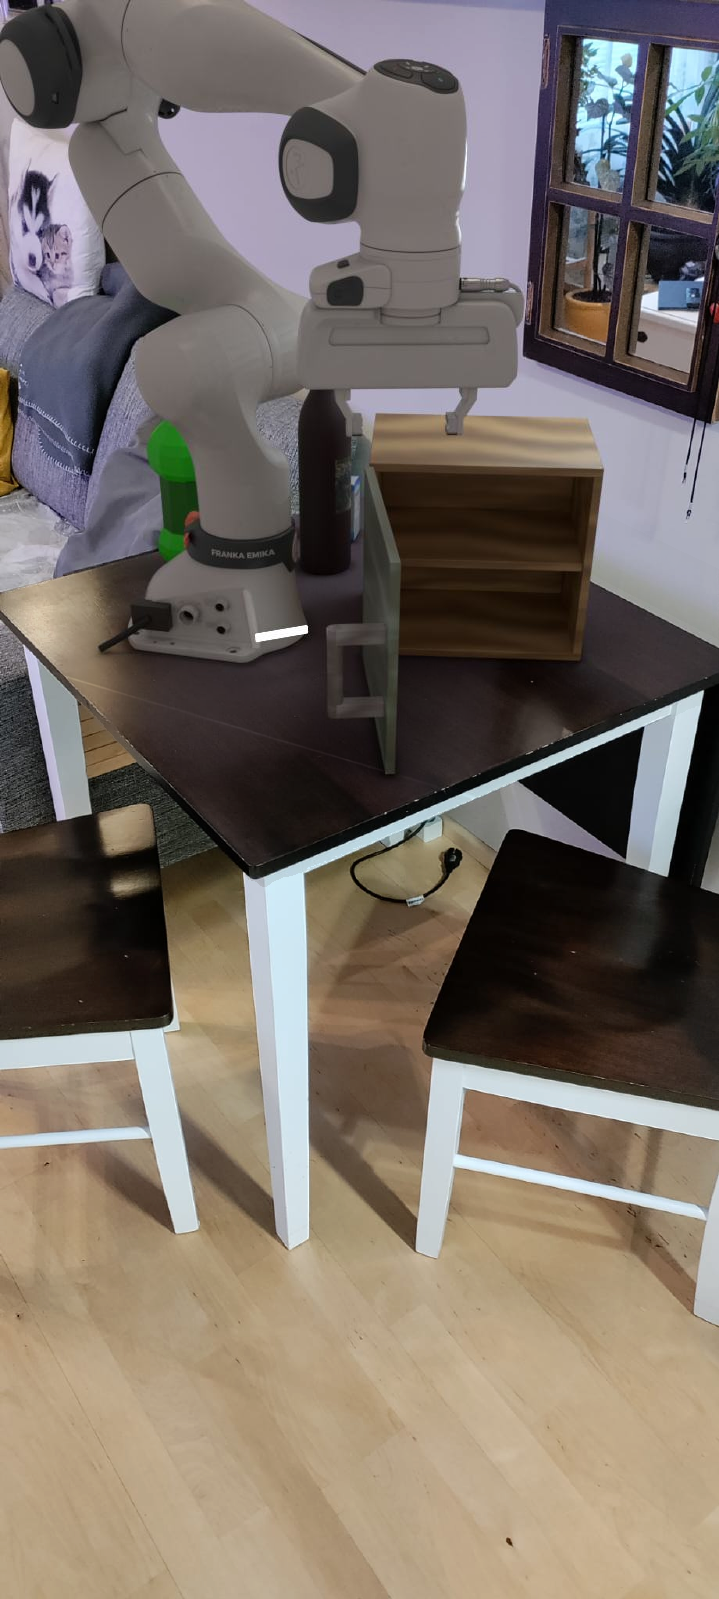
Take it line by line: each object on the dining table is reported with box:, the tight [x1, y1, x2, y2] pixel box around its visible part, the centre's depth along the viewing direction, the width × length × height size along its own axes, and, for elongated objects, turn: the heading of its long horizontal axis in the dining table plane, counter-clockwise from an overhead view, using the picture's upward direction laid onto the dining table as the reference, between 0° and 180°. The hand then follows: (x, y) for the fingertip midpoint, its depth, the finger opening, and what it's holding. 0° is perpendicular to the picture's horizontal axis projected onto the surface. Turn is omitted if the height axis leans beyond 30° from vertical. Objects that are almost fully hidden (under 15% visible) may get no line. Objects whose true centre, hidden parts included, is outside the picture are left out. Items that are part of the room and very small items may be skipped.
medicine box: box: [351, 475, 361, 542], centre depth 177 cm, size 8×4×9 cm, turn 80°
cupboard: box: [368, 412, 605, 661], centre depth 149 cm, size 18×26×24 cm
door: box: [326, 466, 401, 775], centre depth 130 cm, size 7×26×24 cm, turn 5°
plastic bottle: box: [146, 419, 199, 563], centre depth 162 cm, size 10×10×25 cm
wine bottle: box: [297, 389, 352, 575], centre depth 162 cm, size 7×7×30 cm
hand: (403, 434), depth 114 cm, fingers open, 8 cm apart
